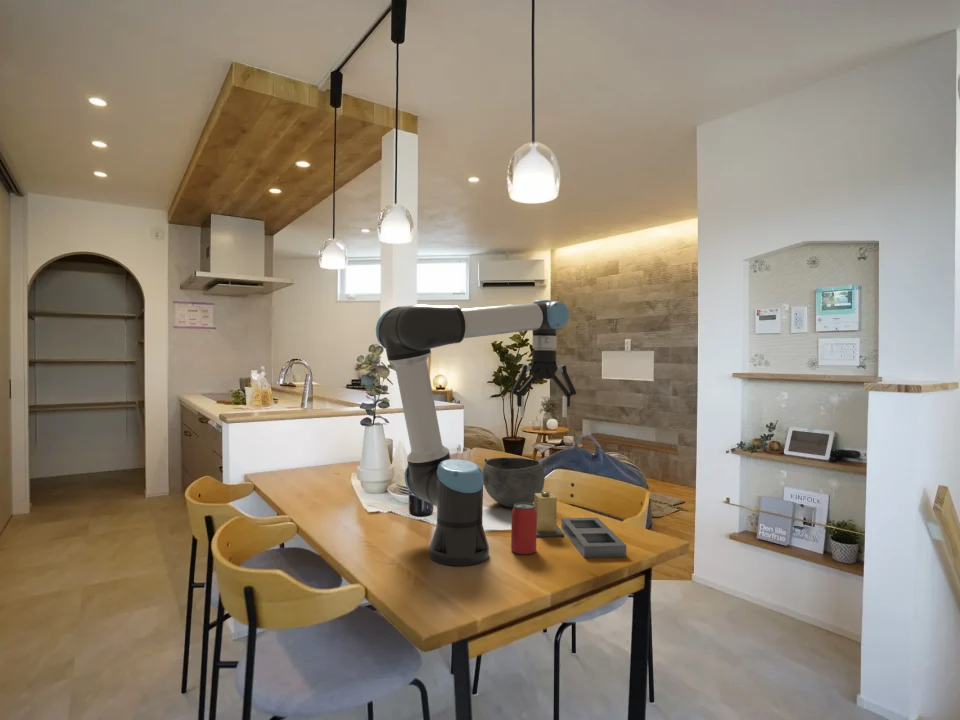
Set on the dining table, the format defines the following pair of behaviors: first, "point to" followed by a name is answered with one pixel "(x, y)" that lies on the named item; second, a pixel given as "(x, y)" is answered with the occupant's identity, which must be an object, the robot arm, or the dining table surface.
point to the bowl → (513, 480)
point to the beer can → (523, 528)
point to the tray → (593, 538)
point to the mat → (557, 534)
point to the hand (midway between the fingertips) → (543, 417)
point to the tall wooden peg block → (545, 512)
